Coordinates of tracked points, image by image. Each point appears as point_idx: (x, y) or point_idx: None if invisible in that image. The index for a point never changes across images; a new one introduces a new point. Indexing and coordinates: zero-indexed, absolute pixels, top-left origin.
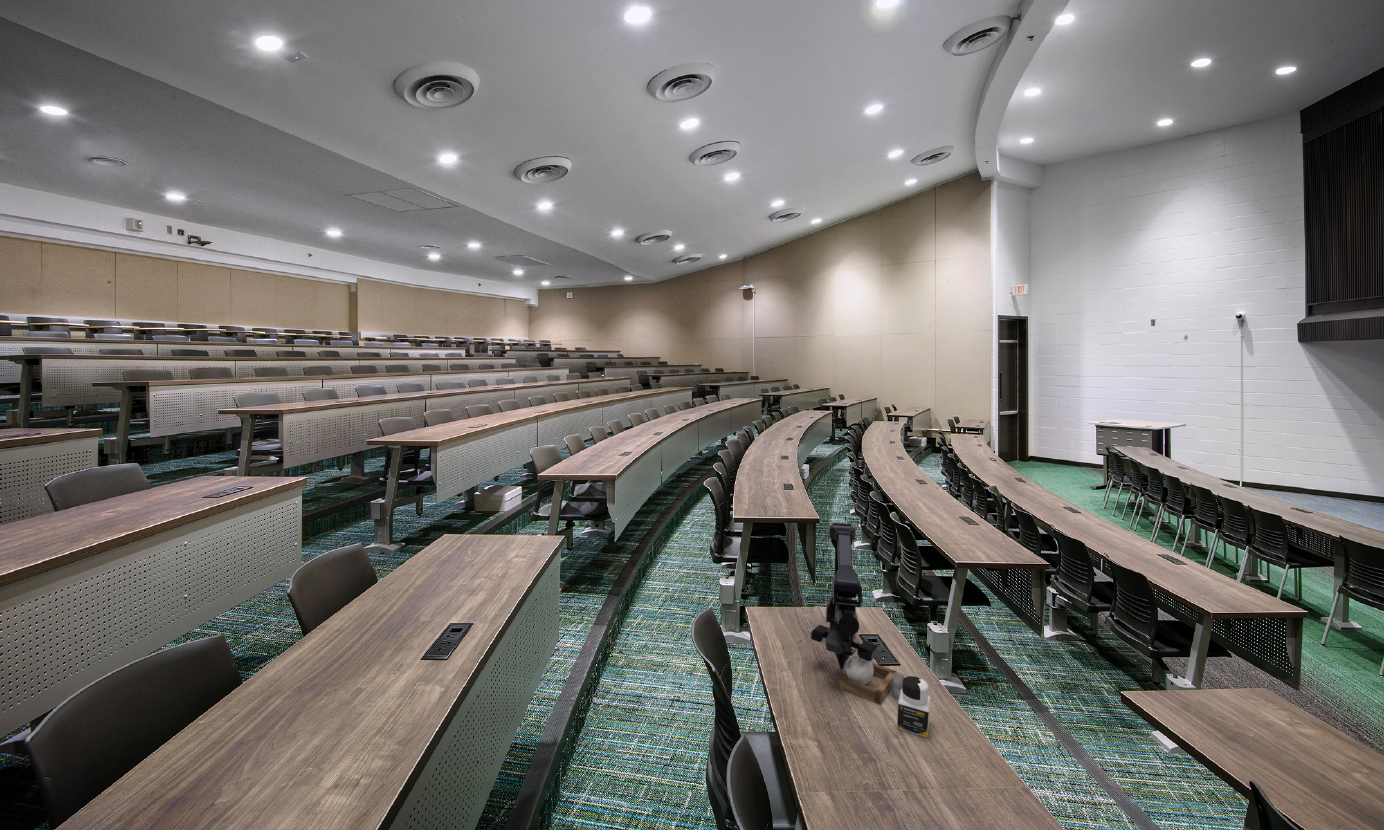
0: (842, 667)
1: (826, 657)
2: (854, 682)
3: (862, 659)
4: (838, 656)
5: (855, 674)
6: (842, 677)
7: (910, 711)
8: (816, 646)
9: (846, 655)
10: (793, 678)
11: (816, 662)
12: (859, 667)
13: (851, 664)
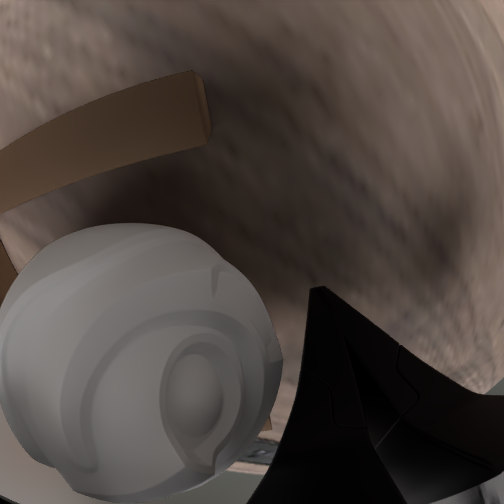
0: (309, 303)
1: (427, 327)
2: (33, 161)
3: (72, 476)
4: (402, 377)
5: (41, 257)
6: (184, 118)
7: None
8: (463, 343)
9: (271, 492)
10: (489, 16)
11: (464, 256)
12: (26, 371)
13: (155, 378)
